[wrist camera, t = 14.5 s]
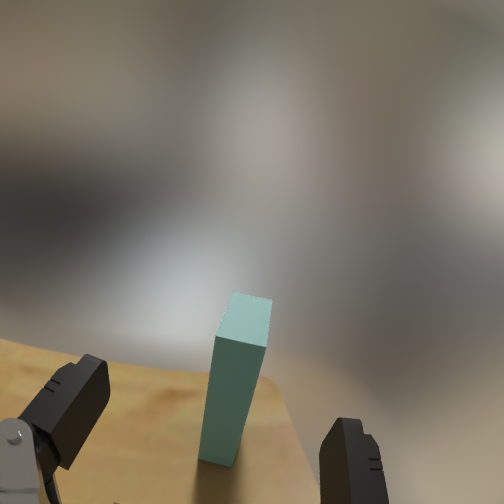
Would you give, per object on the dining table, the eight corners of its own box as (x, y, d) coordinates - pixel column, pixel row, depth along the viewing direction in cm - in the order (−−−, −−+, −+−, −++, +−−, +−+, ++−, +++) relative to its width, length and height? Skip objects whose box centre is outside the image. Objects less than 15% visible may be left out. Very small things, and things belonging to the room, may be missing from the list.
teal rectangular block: (197, 459, 23) (215, 335, 18) (211, 413, 28) (232, 291, 24) (231, 467, 23) (266, 346, 18) (241, 419, 28) (272, 300, 24)
